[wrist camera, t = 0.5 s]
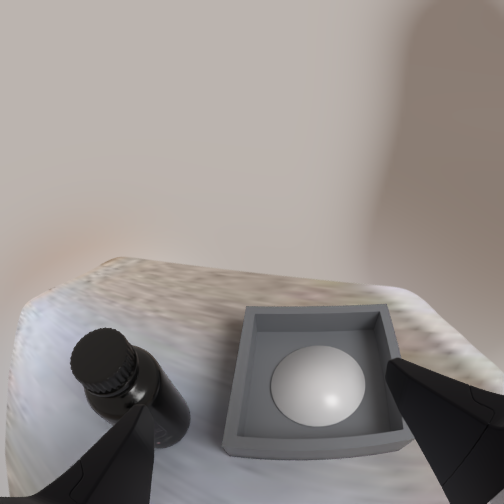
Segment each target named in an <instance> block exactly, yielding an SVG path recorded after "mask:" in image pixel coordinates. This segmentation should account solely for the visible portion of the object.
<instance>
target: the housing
mask: <svg viewBox="0 0 504 504" xmlns="http://www.w3.org/2000/svg"><path fill="white" fill-rule="evenodd" d="M396 357H398V358H401V355H400V351H399V347H398V343H397V339H396V335H395V331H394V328H393V324H392V320H391V317H390V313H389V310H388V307H387V304H375V305H351V306H309V307H258V306H246V310H245V316H244V322H243V328H242V333H241V339H240V345H239V350H238V356H237V362H236V367H235V373H234V379H233V384H232V390H231V396H230V401H229V407H228V413H227V418H226V424H225V429H224V435H223V440H222V447H223V448H224V450H225V451H226V452H227V453H228V454H229V456H232V457H241V458H253V459H269V460H324V459H339V458H351V457H360V456H368V455H375V454H382V453H388V452H393V451H399V450H400V449H402V448H403V447H404V446H406V445H407V444H409V443H410V442H411V441H413V440H414V439H415V438H414V436H413V434H412V433H411V431H410V429H409V427H408V426H407V424H406V422H405V421H404V419H403V417H402V415H401V414H400V412H399V410H398V408H397V406H396V403H395V401H394V399H393V396H392V394H391V392H390V390H389V388H388V385H387V383H386V380H385V373H386V367H387V362H388V361H389V360H391V359H393V358H396Z"/></svg>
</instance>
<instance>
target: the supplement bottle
mask: <svg viewBox="0 0 504 504" xmlns="http://www.w3.org/2000/svg"><path fill="white" fill-rule="evenodd" d="M70 359H71V362H70V365H71V370H72V373H73V375H74V376H75V378H76V379H77V380H78V381H79V382H80V383H81V384H82V385H83V386H84V391H85V395H86V399H87V401H88V403H89V405H90V406H91V408H92V409H93V410H94V411H95V412H96V413H97V414H98V415H99V416H101V417H102V418H103V419H105V420H106V421H107V422H109V423H110V424H112V425H113V426H114V425H115V424H116V423H117V422H118V421H119V420H120V419H121V418H122V417H123V416H124V415H125V414H126V413H127V412H128V411H129V410H130V409H131V408H132V407H133V406H134V405H136V404H144V405H146V406H147V408H148V410H149V412H150V413H151V415H152V417H153V419H154V448H166V447H169V446H172V445H174V444H176V443H177V442H178V441H180V440H181V439H182V438H183V437H184V435H185V434H186V432H187V430H188V428H189V424H190V411H189V408H188V405H187V403H186V402H185V400H184V399H183V397H182V396H181V395H180V393H179V392H178V391H177V389H176V388H175V386H174V385H173V384H172V382H171V381H170V379H169V378H168V377H167V375H166V374H165V372H164V371H163V369H162V368H161V366H160V365H159V363H158V362H157V361H156V359H155V358H154V357H153V356H152V355H151V354H150V353H149V352H147V351H146V350H144V349H142V348H140V347H137V346H133V345H131V344H130V343H129V342H128V341H127V339H126V338H125V336H124V335H122V334H121V333H120V332H119V331H117V330H116V329H111V328H103V329H102V328H100V329H98V330H94V331H92V332H89V333H88V334H87V335H85V336H84V337H83V338H81V339H80V341H79V342H78V343H77V344H76V346H75V347H74V350H73V352H72V356H71V358H70Z"/></svg>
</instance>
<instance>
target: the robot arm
mask: <svg viewBox="0 0 504 504" xmlns="http://www.w3.org/2000/svg"><path fill="white" fill-rule="evenodd" d="M385 380H386V383H387V385H388V388H389V390H390V392H391V394H392V396H393V399H394V401H395V403H396V406H397V408H398V410H399V412H400V414H401V415H402V417H403V419H404V421H405V422H406V424H407V426H408V427H409V429H410V431H411V433H412V434H413V436H414V438H415V439H416V441H417V443H418V445H419V446H420V448H421V450H422V452H423V454H424V455H425V457H426V459H427V461H428V463H429V464H430V466H431V468H432V470H433V472H434V474H435V475H436V477H437V479H438V481H439V483H440V485H441V486H442V489H443V491H444V493H445V495H446V496H447V498H448V500H449V502H450V504H487V503H488V502H490V503H491V504H504V395H500V394H496V393H492V392H489V391H485V390H482V389H479V388H476V387H474V386H471V385H470V386H469V385H468V384H465V383H463V382H460V381H457V380H455V379H452V378H449V377H447V376H444V375H441V374H439V373H436V372H434V371H431V370H429V369H426V368H424V367H421V366H419V365H416V364H414V363H411V362H409V361H406V360H404V359H401V358H398V357H396V358H393V359H391V360H389V361H388V362H387V367H386V373H385ZM153 463H154V419H153V417H152V415H151V413H150V412H149V410H148V408H147V406H146V405H144V404H136V405H134V406H133V407H132V408H131V409H130V410H129V411H128V412H127V413H126V414H125V415H124V416H123V417H122V418H121V419H120V420H119V421H118V422H117V423H116V424H115V425H114V426H113V427H112V428H111V429H110V430H109V431H108V432H107V433H106V434H105V435H104V436H103V437H102V438H101V439H100V440H99V441H98V442H97V443H96V444H94V445H93V446H92V447H91V448H90V449H89V450H88V451H87V452H86V453H85V454H84V455H83V456H82V457H81V458H80V459H79V460H78V461H77V462H76V463H75V464H74V465H73V466H72V467H71V468H69V469H68V470H67V471H66V472H65V473H64V474H62V475H61V476H60V477H59V478H57V479H56V480H55V481H53V482H52V483H51V484H49V485H48V486H47V487H45V488H44V489H42V490H41V491H40V492H38V493H36V494H34V495H32V496H28V497H0V504H149V501H150V490H151V481H152V471H153Z"/></svg>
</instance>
